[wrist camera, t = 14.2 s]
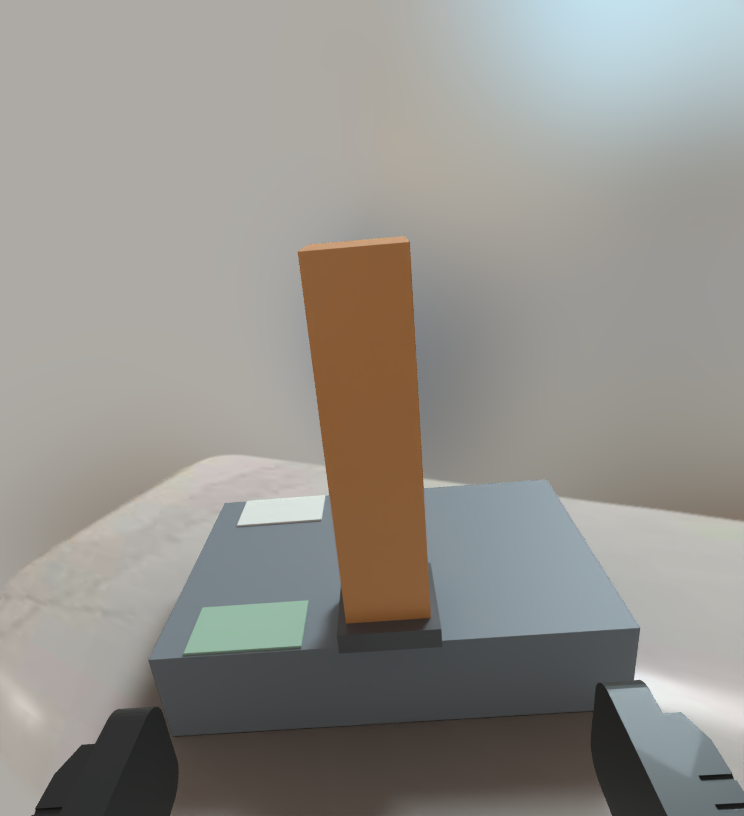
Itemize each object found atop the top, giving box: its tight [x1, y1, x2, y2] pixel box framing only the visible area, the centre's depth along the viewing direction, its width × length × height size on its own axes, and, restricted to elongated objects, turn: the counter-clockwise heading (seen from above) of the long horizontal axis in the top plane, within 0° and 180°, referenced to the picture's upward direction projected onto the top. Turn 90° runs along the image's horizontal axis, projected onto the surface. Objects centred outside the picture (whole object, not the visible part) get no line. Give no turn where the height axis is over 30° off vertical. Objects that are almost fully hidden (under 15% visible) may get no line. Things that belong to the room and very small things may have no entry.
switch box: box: [149, 480, 640, 736], centre depth 25 cm, size 11×18×4 cm, turn 90°
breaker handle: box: [298, 236, 442, 654], centre depth 18 cm, size 4×4×14 cm
